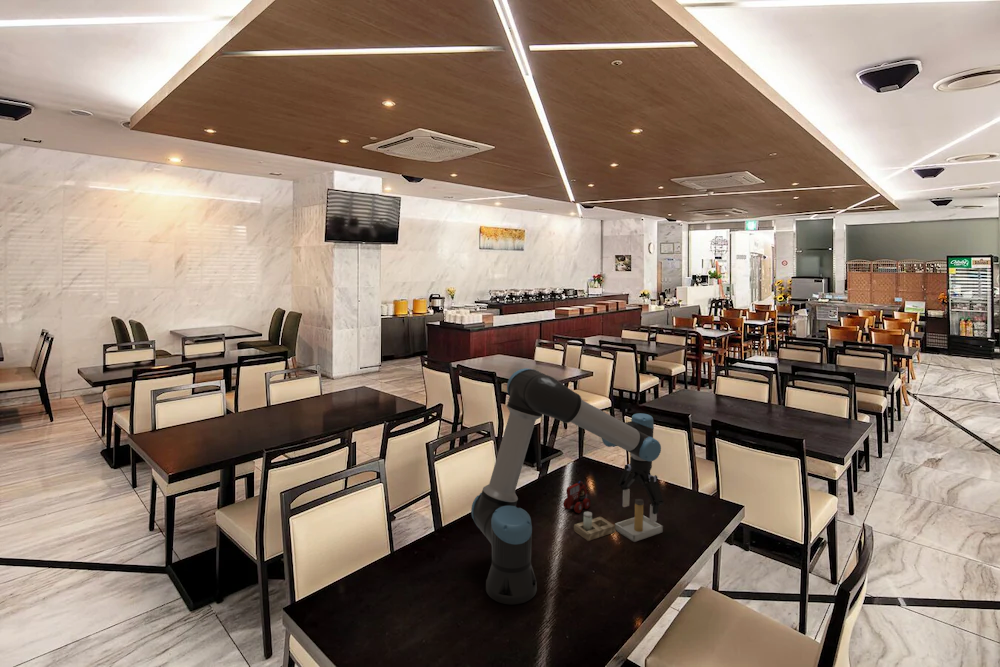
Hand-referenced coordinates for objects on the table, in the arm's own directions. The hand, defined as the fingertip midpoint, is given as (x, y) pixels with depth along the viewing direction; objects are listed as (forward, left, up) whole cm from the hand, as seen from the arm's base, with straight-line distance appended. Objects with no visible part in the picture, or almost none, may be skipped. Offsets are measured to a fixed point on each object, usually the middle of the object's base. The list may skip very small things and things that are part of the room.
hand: (639, 513), depth 188 cm
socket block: (-14, +8, -7) cm, 17 cm away
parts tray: (0, 0, -7) cm, 7 cm away
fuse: (-18, +8, -7) cm, 20 cm away
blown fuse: (0, 0, -6) cm, 6 cm away
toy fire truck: (-8, +26, -7) cm, 28 cm away
